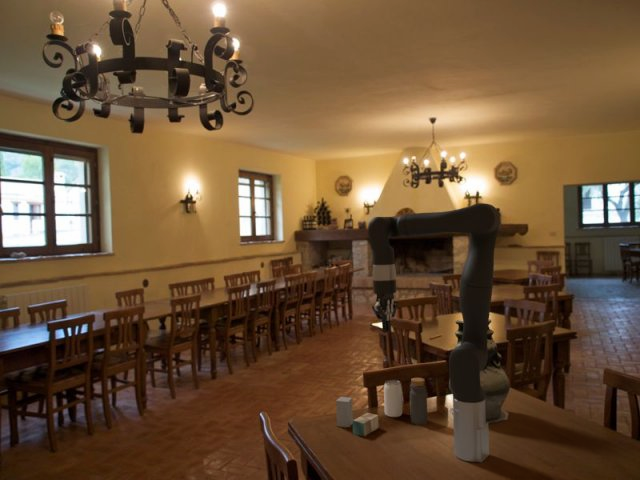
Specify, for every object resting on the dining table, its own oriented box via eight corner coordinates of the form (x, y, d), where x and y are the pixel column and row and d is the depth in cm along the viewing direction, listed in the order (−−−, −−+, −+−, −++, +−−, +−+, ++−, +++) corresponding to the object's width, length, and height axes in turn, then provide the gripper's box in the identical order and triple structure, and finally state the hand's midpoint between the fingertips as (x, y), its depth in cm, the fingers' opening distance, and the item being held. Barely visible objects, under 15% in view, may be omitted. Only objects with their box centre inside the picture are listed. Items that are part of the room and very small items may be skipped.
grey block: (353, 423, 176) (352, 397, 176) (348, 427, 172) (347, 401, 172) (341, 421, 178) (340, 396, 178) (336, 426, 174) (336, 400, 174)
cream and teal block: (363, 436, 165) (378, 427, 172) (363, 423, 164) (377, 415, 171) (352, 433, 167) (367, 425, 174) (352, 420, 167) (367, 412, 174)
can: (397, 418, 179) (396, 385, 179) (381, 415, 183) (380, 383, 183) (405, 413, 184) (404, 381, 184) (390, 410, 188) (389, 378, 188)
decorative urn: (439, 412, 186) (433, 319, 186) (483, 401, 194) (478, 312, 194) (477, 431, 166) (470, 327, 166) (525, 418, 175) (519, 319, 174)
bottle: (428, 424, 173) (427, 381, 173) (412, 425, 173) (410, 382, 173) (425, 418, 179) (424, 376, 179) (409, 418, 179) (408, 377, 179)
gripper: (383, 280, 153) (386, 336, 153) (404, 276, 163) (407, 329, 163) (363, 280, 158) (365, 334, 158) (385, 276, 168) (387, 327, 168)
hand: (386, 331), depth 161 cm, fingers closed
